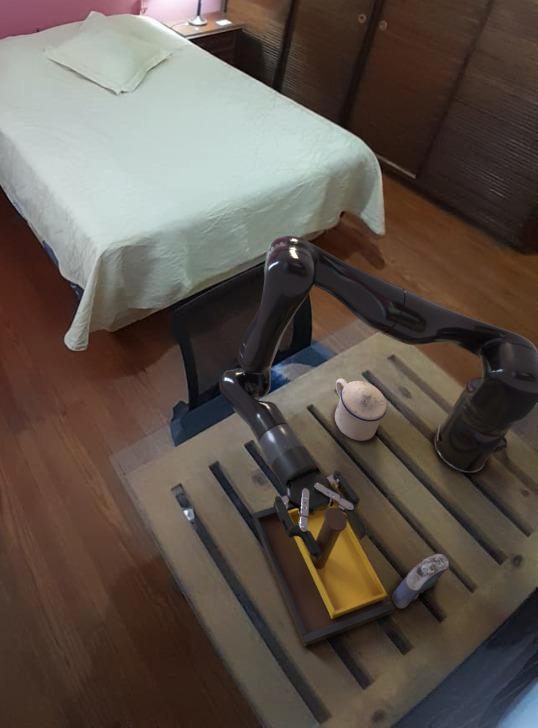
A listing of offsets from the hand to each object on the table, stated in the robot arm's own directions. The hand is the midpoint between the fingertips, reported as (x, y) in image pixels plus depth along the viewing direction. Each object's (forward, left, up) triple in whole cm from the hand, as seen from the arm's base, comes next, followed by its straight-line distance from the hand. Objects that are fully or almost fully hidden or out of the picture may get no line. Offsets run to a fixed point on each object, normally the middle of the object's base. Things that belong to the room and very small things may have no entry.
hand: (342, 546), depth 90 cm
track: (+1, -2, -11) cm, 11 cm away
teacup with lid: (-20, -25, -11) cm, 34 cm away
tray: (-1, -2, -10) cm, 10 cm away
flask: (-12, +6, -11) cm, 18 cm away
